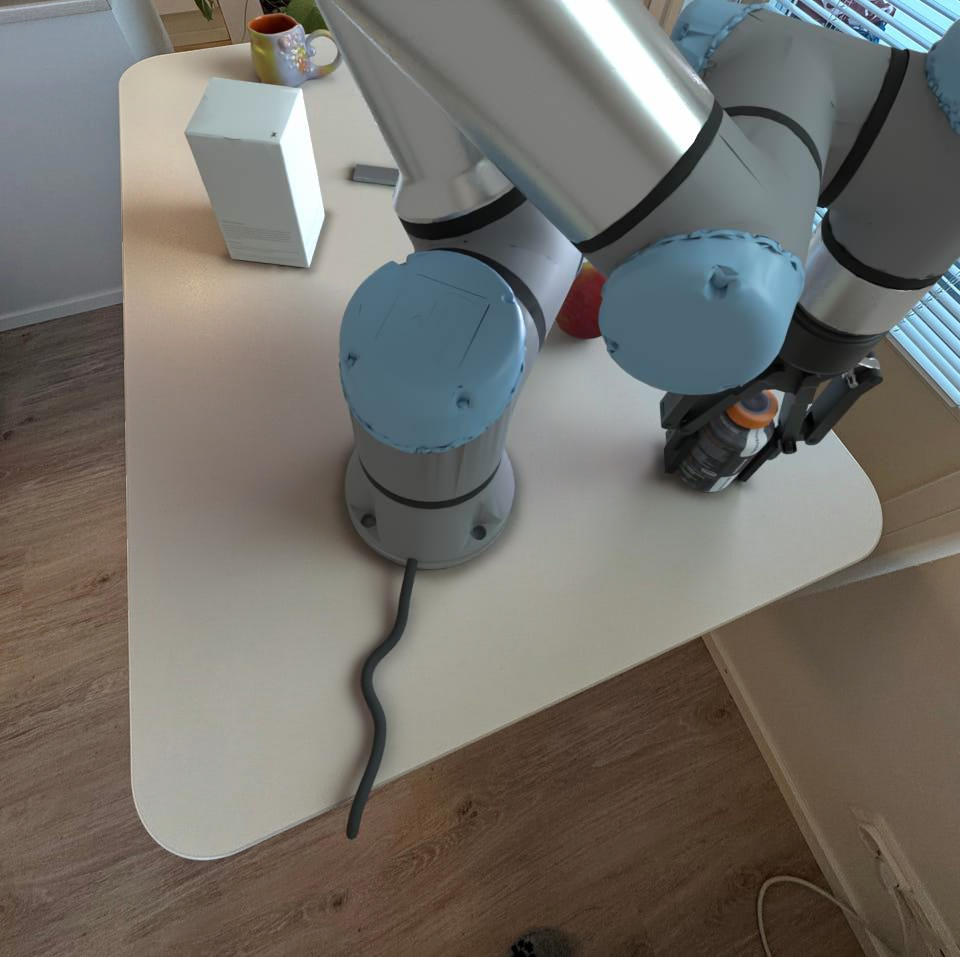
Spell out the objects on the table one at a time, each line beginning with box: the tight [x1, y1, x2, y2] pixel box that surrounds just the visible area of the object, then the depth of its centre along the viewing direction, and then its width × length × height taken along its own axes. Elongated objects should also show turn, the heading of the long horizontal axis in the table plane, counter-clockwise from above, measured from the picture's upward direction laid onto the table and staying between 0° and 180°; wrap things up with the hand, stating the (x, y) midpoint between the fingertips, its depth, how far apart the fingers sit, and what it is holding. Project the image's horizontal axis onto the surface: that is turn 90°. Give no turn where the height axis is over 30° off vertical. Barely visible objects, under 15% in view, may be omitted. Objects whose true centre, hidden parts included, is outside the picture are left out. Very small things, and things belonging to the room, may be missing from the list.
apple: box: [554, 261, 607, 340], centre depth 65 cm, size 8×8×8 cm
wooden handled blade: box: [352, 163, 399, 187], centre depth 77 cm, size 23×3×2 cm, turn 85°
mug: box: [246, 12, 344, 88], centre depth 83 cm, size 12×7×7 cm, turn 92°
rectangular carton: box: [183, 76, 326, 269], centre depth 65 cm, size 9×9×15 cm
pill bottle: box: [675, 390, 779, 493], centre depth 57 cm, size 6×6×11 cm
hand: (704, 465), depth 61 cm, fingers open, 6 cm apart
